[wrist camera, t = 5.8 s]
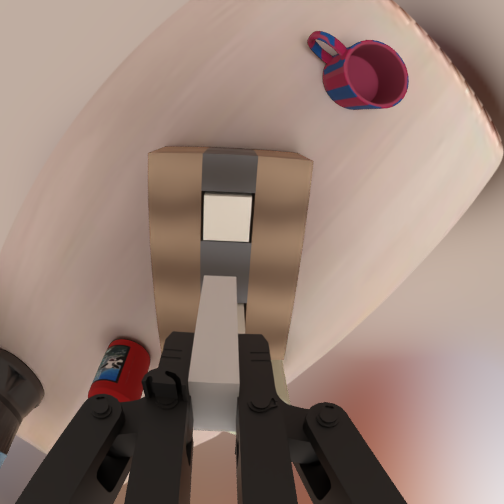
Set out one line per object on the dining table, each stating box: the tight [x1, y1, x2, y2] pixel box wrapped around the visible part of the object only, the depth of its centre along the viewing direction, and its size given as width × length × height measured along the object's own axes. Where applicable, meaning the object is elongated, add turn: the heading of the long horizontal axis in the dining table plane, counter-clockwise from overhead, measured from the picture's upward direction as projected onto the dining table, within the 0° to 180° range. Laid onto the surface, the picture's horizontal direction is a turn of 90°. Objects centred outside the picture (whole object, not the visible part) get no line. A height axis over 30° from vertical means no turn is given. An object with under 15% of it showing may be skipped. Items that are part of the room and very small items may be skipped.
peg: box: [203, 191, 252, 242], centre depth 29 cm, size 4×4×7 cm
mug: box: [307, 31, 409, 110], centre depth 24 cm, size 7×10×7 cm
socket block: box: [148, 147, 313, 360], centre depth 32 cm, size 22×14×7 cm, turn 176°
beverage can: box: [88, 339, 150, 402], centre depth 36 cm, size 7×7×12 cm
